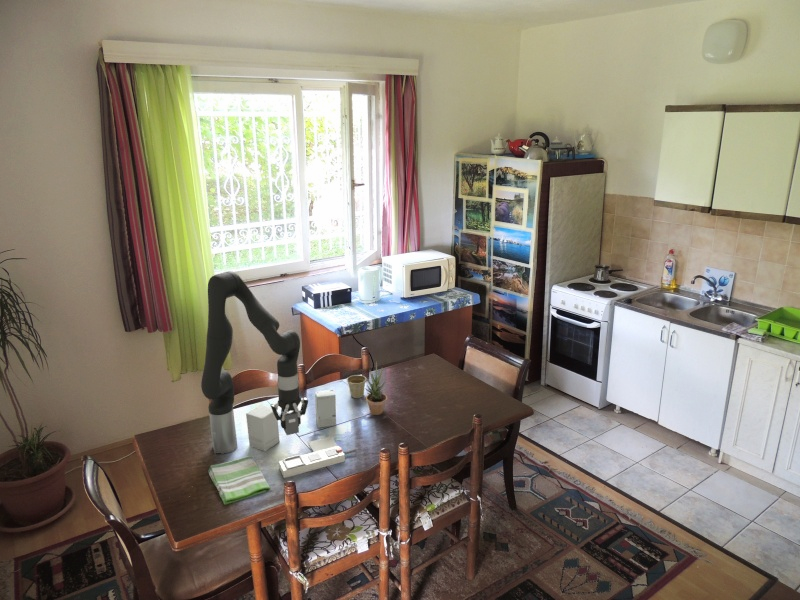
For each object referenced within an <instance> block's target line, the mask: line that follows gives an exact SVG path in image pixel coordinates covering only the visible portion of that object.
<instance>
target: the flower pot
mask: <svg viewBox="0 0 800 600" xmlns="http://www.w3.org/2000/svg"><path fill="white" fill-rule="evenodd" d="M346 382H347V384H348V387H349V392H350V397H352V398H354V399H360V398H362V397H364V396H365V388H366V387H365V385H366V382H367V377H366V376H365V375H360V374H354V375H350V376H349V377H348V376H347V378H346Z"/></svg>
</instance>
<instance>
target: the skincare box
mask: <svg viewBox="0 0 800 600" xmlns="http://www.w3.org/2000/svg"><path fill="white" fill-rule="evenodd" d="M314 398H315V399H314V400H315V401H314V402H315V422H316V426H317V428H318V429H321V428H327V427H335V426H337V410H336V409H337V408H336V406H337V403H336V402H337V401H336V393H335V391H334V389H329V390H328V389H326V390H318V391H315V392H314Z"/></svg>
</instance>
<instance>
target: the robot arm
mask: <svg viewBox="0 0 800 600" xmlns="http://www.w3.org/2000/svg"><path fill="white" fill-rule="evenodd" d="M232 297H235V298H236V299H238V300H239V301H240V302H241V303H242V304H243V307H244V309H245V312H246V316H247V318H248V320H249V322H250V323H251V324H252V326H254V328H255V329H256V330H257V331H259V332H260V333H261V334H262V336H263V338H264V339H265V341H266V343H267V344H268V346H269V348H270V349H271V350H272V352H273V353H275V354H277V355H279V356H280V357H279V358H278V359H277V361H276V369H277V370H276V371H277V383H276V385H277V393H278V394H277V395H278V396H277V397H278V400H277V402H276V403H275V404H274V403H271V404H270V408H272V411H273V413H274V415H275V417H276V419H277V420H278V421H280V427H281V428H282V429H283V430H284V429H286V425H285V415H287V412H289V411H293V410H295V412H296V413H298V426H299V427H300V425H301V422H302V419H301V417H302V416H305V415H306V412H307V408H308V404H309V400H308V398H307V397H306V396H304V397H301V396H300V381H299V374H298V359H299V354H300V350H301V339H300V336H299V334H298V333H297V332H296V331H294V330H292V329H289V330H286V331H283V332H281V333H279V332H278V330H279V328H280V322H279V321H278V319H276V318H275V317H274V316H273V315H272V313H270V312H269V311H268V310H267V309H266V308H265V307H264V306H263V305H262V304H261V303H260V302H259V300H258V299H257V297H256V296H255V294H254V293H253V292H252V291H251V289H250V288H249V287H248V285H247V284H246V283H245V281H244V280H243V279H242V277H241V276H240V275H239V274H237V273H236V272H235V271H231V270H229V271H224V272H221V273H218V274H214V275H212V276H211V277H210V278H209V280H208V281H207V303H208V305H207V308H208V312H207V313H208V316H207V317H208V318H207V332H206V348H205V358H204V366H203V370H202V371H203V372H202V375H201V377H202V378H201V382H200V387H201V392H202V394H203V396H204V397H205V398H206V399H208V400H210V402H209V404H208V414H209V423H210V429H209V430H210V434H211V436H210V437H211V443H212V449H213V451H214V454H215V453H221V454H220V455H224V453H226V454H229V452H230V453H232V452H234V451H235V450H237V448H238V439H237V431H236V430H237V429H236V422H235V411H234V403H235V391H234V388H235V387H234V382H233V381H234V380H233V377H232V375H231V374H230V373H229V372H228V370H226V369H223V366H224V364H225V362H226V359H228V358H227V357H228V355H229V353H230V351H231V350H232V349H231V348H232V345H233V337H234V336H233V335H234V334H233V333H234V332H233V331H234V329H233V326H232V324H231V322H230V320H229V318H228V316H227V314H226V301H227V299H228V298H232ZM300 403H301V407H300V410H299V408H298V406H299V405H300ZM279 407H280V408H281V409H280V415H279V414H278V409H279Z"/></svg>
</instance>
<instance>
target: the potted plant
mask: <svg viewBox="0 0 800 600" xmlns="http://www.w3.org/2000/svg"><path fill="white" fill-rule="evenodd" d="M371 371H372V370H369V374H370V379H371V382H370V380H369V379H368V378H366V382H367V383H368V384H367V385H366V387H367V388H366V387H364V390H366V391H367V395H366V397H365V402H366V403H367V405H368V409H369V413H370V414H371V415H374V416H378V415H382V414H383V412H384V409H385V406H386V403H387V401H388V396H387V395H386V394H384V393H383V390H382V389H383V388H384V386H385V384H386V381H387V380H385V381H384V382H383V378H382V374H383V371H384V369H383V368H381V369H380V372H379V373H378V362H377V361H376V362H375V377H374V374H373V372H371ZM382 382H383V383H382ZM381 384H382V385H381Z"/></svg>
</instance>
